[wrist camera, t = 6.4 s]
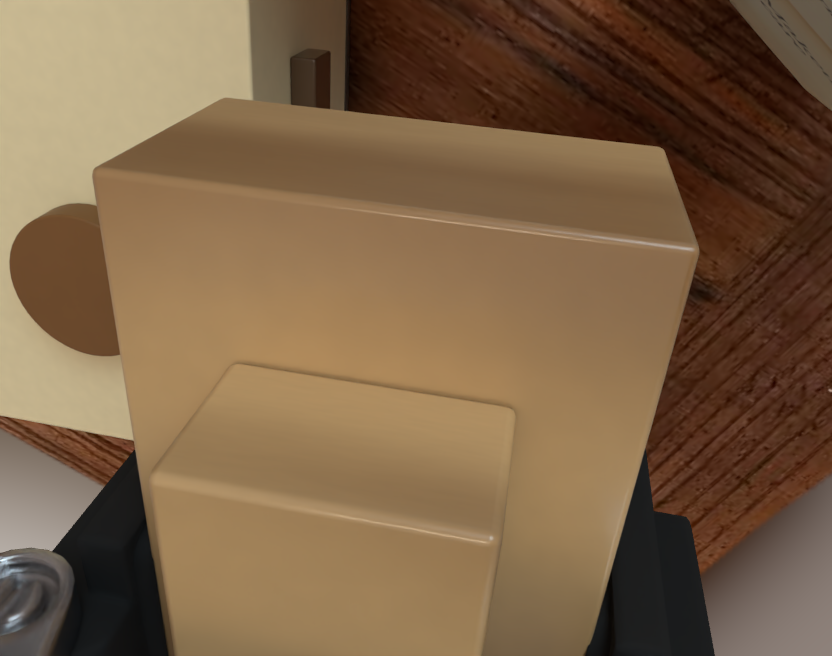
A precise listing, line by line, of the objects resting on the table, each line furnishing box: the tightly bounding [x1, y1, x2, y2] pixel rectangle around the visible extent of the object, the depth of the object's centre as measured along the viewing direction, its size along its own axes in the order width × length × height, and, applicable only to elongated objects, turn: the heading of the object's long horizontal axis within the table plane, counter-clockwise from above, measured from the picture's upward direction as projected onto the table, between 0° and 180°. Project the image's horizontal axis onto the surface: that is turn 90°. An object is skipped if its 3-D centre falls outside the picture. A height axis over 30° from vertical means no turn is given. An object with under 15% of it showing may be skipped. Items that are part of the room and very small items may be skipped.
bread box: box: [0, 0, 351, 441], centre depth 20 cm, size 9×12×7 cm
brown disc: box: [9, 203, 120, 356], centre depth 17 cm, size 4×4×1 cm
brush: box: [92, 97, 700, 656], centre depth 9 cm, size 11×4×6 cm, turn 176°
